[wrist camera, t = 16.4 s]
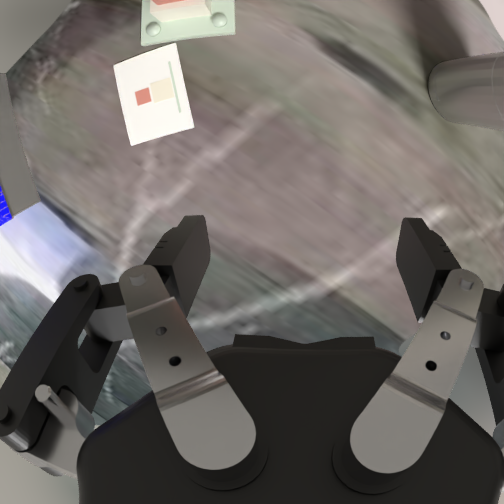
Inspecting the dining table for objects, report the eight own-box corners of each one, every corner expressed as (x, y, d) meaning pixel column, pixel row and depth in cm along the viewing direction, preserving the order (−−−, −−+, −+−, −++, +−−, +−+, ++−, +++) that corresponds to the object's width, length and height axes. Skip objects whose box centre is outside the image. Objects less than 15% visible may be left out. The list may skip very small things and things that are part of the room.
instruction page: (175, 42, 32) (175, 42, 31) (194, 127, 36) (194, 127, 36) (113, 65, 33) (113, 65, 32) (131, 145, 37) (130, 145, 37)
